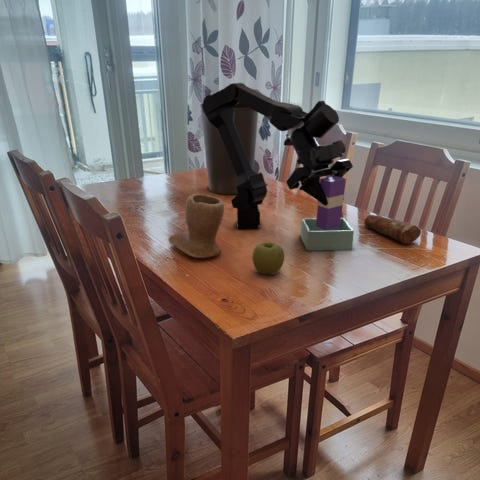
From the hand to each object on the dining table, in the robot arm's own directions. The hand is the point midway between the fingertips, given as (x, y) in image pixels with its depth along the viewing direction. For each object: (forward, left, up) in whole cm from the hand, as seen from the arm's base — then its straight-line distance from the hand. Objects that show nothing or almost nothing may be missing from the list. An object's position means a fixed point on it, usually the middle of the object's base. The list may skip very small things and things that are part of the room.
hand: (334, 202), depth 119 cm
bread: (+19, +12, -14) cm, 26 cm away
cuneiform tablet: (+6, +23, -14) cm, 28 cm away
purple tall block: (-1, +1, -7) cm, 7 cm away
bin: (0, +7, -13) cm, 15 cm away
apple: (-18, -12, -14) cm, 25 cm away
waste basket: (-25, +67, -14) cm, 73 cm away
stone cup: (-35, +3, -14) cm, 37 cm away
